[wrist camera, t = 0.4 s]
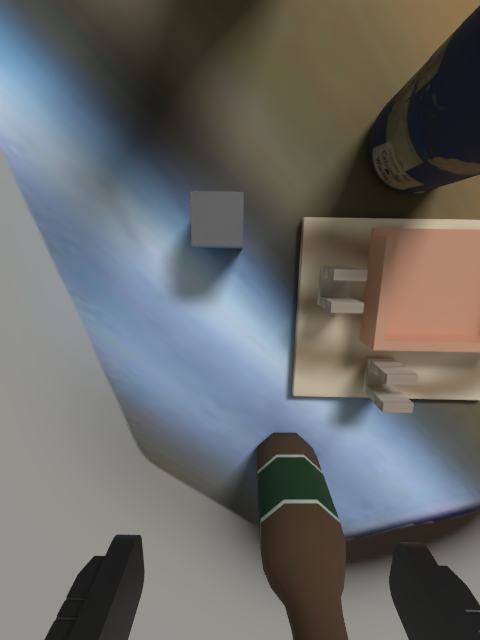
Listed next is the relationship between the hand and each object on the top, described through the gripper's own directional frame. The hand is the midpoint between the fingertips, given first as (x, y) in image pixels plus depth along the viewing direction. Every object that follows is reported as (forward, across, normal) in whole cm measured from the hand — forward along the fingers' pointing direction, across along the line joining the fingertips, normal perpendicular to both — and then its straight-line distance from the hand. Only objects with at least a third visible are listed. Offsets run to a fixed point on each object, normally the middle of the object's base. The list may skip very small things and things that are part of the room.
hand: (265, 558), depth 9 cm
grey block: (+26, +3, -12) cm, 29 cm away
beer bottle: (+25, -5, +16) cm, 31 cm away
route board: (+26, -17, -3) cm, 31 cm away
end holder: (+24, -20, -6) cm, 32 cm away
